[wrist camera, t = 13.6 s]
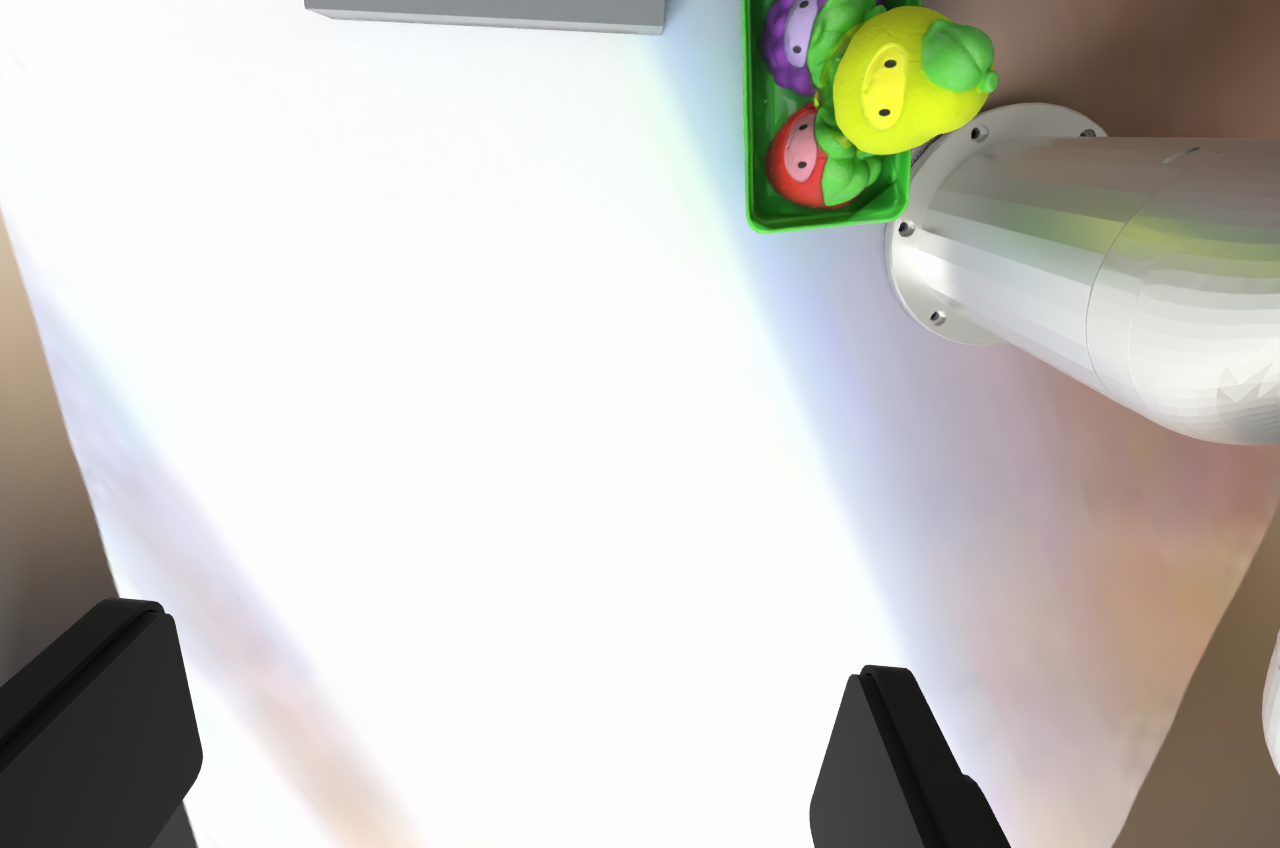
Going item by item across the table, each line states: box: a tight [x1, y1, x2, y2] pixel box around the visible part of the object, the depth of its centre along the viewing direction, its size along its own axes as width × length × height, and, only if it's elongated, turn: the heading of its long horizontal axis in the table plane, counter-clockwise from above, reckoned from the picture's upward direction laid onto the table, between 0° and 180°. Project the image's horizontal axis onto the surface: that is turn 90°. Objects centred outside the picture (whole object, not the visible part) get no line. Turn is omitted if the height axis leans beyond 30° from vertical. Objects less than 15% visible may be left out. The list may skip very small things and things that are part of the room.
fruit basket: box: [741, 0, 999, 234], centre depth 29 cm, size 11×9×11 cm
